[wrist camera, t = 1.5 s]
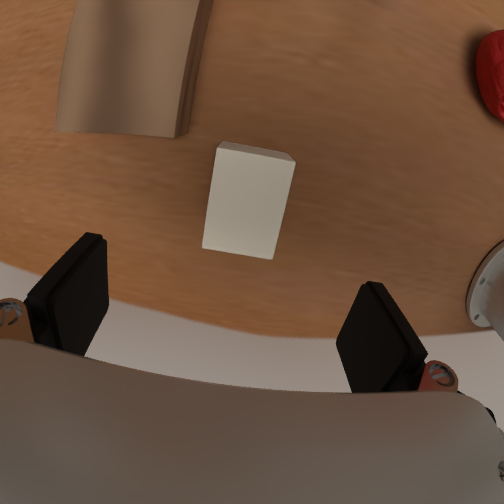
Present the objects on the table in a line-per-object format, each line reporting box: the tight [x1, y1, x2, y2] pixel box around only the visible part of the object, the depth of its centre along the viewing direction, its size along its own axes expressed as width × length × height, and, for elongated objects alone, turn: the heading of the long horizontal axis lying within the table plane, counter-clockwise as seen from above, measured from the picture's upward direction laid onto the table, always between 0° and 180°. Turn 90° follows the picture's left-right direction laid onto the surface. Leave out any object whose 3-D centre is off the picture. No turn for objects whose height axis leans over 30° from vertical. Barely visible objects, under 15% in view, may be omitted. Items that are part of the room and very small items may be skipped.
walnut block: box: [55, 0, 213, 138], centre depth 17 cm, size 9×11×5 cm
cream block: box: [202, 141, 296, 260], centre depth 22 cm, size 5×7×4 cm
